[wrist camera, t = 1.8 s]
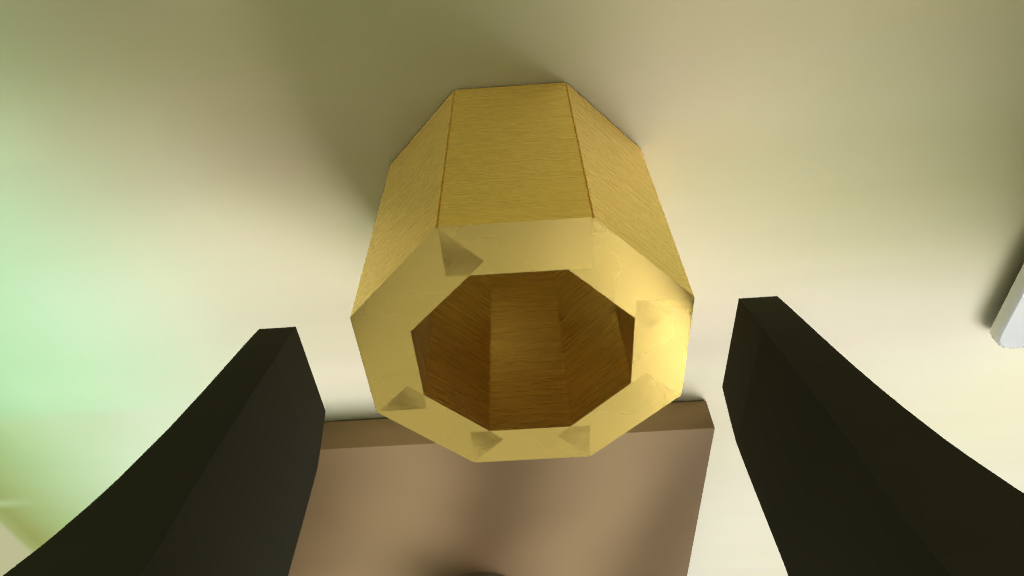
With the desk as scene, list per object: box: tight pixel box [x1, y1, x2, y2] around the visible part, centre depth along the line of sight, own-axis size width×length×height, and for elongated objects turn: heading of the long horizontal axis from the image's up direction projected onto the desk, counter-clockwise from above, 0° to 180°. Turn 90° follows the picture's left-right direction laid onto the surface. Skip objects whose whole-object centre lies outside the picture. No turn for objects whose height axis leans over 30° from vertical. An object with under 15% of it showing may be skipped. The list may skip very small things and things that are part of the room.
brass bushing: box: [350, 82, 694, 462], centre depth 13 cm, size 5×5×5 cm
